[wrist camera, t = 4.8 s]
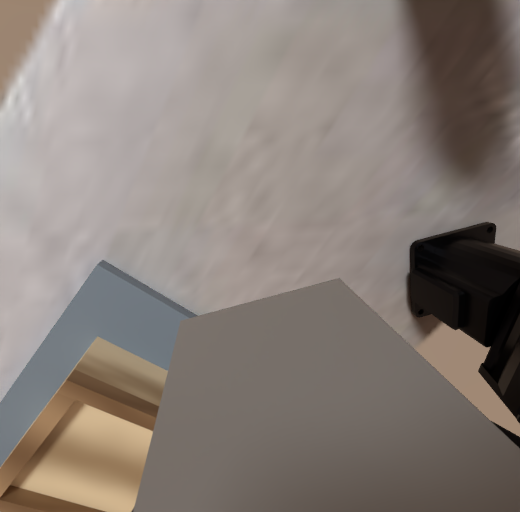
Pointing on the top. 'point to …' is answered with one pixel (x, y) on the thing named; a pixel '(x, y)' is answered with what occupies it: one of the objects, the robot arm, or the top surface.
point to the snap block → (317, 418)
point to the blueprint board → (83, 335)
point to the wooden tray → (87, 438)
